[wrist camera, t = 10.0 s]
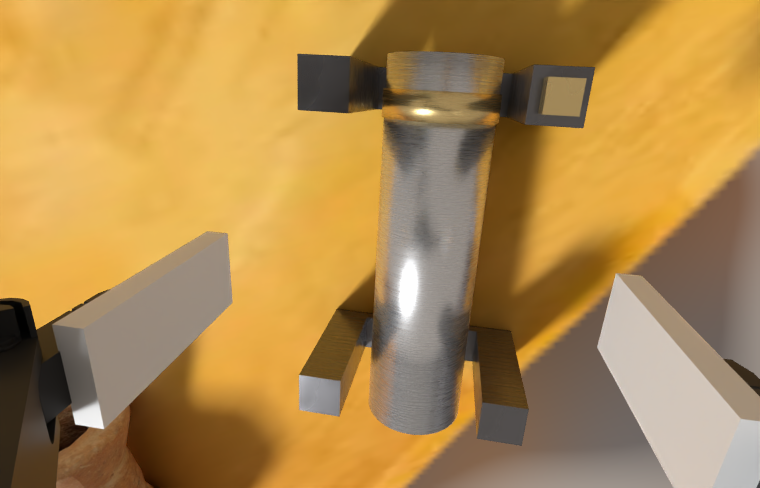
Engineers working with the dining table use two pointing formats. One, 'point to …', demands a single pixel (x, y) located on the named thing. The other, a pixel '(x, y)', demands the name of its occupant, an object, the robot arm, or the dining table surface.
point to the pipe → (96, 455)
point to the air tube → (429, 231)
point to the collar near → (519, 91)
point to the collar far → (484, 347)
